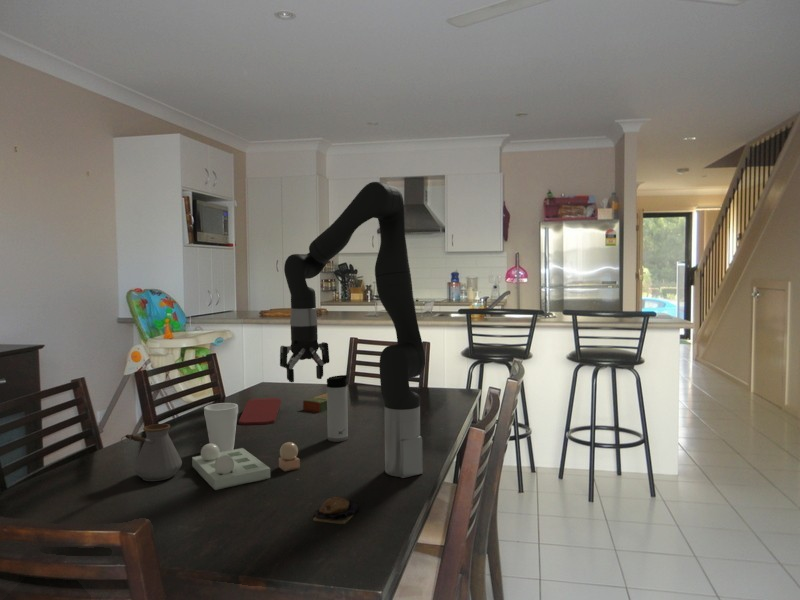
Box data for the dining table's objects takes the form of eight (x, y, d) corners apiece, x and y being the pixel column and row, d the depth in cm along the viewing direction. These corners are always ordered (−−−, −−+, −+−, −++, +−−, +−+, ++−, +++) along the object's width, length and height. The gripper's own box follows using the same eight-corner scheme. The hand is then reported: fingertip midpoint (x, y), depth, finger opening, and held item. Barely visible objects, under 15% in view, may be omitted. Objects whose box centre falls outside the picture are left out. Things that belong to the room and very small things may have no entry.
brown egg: (301, 460, 155) (300, 443, 155) (284, 464, 153) (283, 446, 153) (293, 456, 159) (293, 438, 159) (277, 459, 157) (276, 441, 157)
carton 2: (274, 434, 202) (282, 407, 227) (273, 421, 201) (282, 395, 226) (238, 436, 201) (250, 408, 226) (237, 422, 200) (250, 396, 225)
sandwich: (346, 527, 121) (346, 510, 121) (308, 523, 123) (308, 505, 123) (363, 507, 131) (363, 491, 131) (328, 503, 133) (328, 487, 133)
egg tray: (270, 478, 149) (270, 468, 149) (214, 490, 141) (214, 479, 141) (243, 456, 166) (242, 448, 166) (192, 466, 158) (191, 457, 158)
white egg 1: (222, 462, 156) (221, 444, 156) (203, 465, 153) (203, 447, 153) (216, 457, 160) (216, 440, 160) (198, 460, 157) (198, 443, 157)
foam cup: (229, 443, 179) (228, 401, 178) (245, 450, 172) (243, 406, 172) (199, 450, 172) (198, 406, 172) (214, 457, 166) (213, 412, 165)
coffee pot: (147, 468, 157) (145, 413, 157) (189, 468, 157) (188, 413, 156) (103, 499, 136) (100, 435, 135) (151, 500, 135) (149, 435, 135)
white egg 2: (237, 475, 146) (236, 456, 146) (217, 479, 143) (217, 459, 143) (231, 470, 150) (230, 451, 150) (212, 473, 147) (211, 454, 147)
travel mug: (345, 442, 179) (344, 377, 178) (324, 441, 180) (323, 376, 179) (351, 436, 185) (350, 373, 184) (331, 435, 186) (330, 373, 185)
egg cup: (299, 468, 156) (299, 459, 156) (285, 471, 153) (284, 462, 153) (293, 464, 159) (293, 455, 159) (278, 467, 157) (278, 457, 157)
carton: (345, 404, 231) (345, 393, 231) (320, 413, 217) (320, 402, 217) (328, 402, 235) (328, 391, 235) (302, 410, 221) (302, 399, 221)
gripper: (285, 326, 161) (286, 385, 162) (332, 323, 169) (333, 379, 169) (275, 324, 167) (277, 381, 168) (321, 321, 175) (322, 375, 176)
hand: (305, 380), depth 169 cm, fingers open, 8 cm apart
